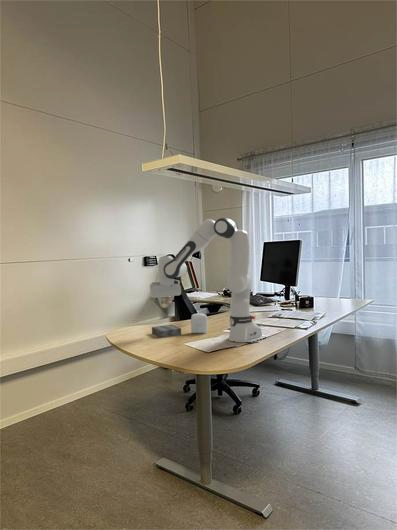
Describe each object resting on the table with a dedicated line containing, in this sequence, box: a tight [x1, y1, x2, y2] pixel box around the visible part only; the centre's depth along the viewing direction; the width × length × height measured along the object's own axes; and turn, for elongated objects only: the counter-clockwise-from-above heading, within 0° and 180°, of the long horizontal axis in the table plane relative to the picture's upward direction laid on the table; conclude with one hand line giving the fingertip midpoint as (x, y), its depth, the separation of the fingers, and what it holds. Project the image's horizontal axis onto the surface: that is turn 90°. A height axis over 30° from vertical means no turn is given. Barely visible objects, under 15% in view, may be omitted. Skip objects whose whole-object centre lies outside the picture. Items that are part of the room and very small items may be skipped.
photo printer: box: [190, 313, 208, 334], centre depth 226 cm, size 10×4×12 cm, turn 84°
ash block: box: [160, 296, 172, 309], centre depth 223 cm, size 5×5×6 cm
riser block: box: [151, 324, 182, 339], centre depth 225 cm, size 14×14×4 cm
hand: (165, 303), depth 223 cm, fingers closed on ash block, 5 cm apart
